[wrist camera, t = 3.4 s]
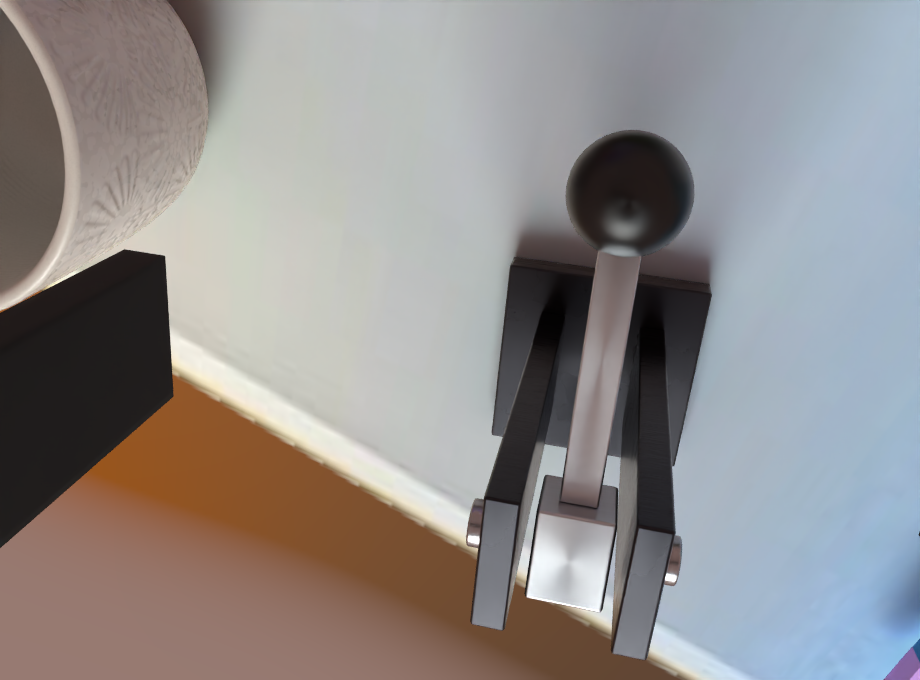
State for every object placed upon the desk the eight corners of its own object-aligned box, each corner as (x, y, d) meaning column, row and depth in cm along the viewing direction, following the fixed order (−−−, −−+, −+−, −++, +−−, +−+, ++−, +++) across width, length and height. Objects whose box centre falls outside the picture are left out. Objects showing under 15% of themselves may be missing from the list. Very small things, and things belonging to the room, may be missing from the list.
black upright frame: (514, 256, 35) (432, 428, 21) (710, 283, 34) (753, 484, 20) (495, 422, 38) (415, 661, 25) (673, 453, 37) (689, 721, 24)
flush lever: (579, 121, 22) (571, 124, 19) (699, 135, 22) (711, 140, 19) (518, 545, 26) (504, 602, 23) (620, 565, 26) (619, 626, 23)
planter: (286, 187, 35) (146, 267, 25) (56, 259, 39) (-144, 354, 29) (160, -129, 31) (-63, -178, 21) (-83, -15, 35) (-367, -12, 25)
